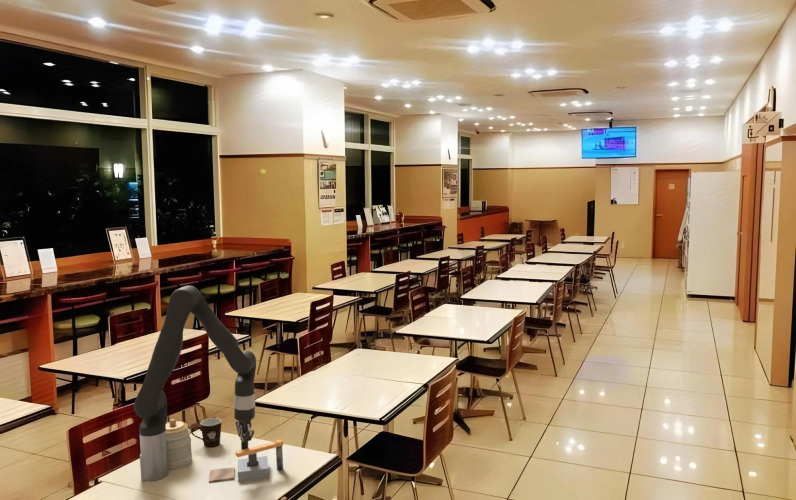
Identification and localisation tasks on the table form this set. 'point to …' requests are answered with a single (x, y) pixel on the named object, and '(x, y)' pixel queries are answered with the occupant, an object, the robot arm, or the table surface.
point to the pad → (221, 474)
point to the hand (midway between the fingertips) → (244, 449)
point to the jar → (178, 444)
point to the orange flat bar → (259, 448)
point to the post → (279, 458)
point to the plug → (252, 459)
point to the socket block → (252, 469)
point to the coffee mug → (210, 432)
